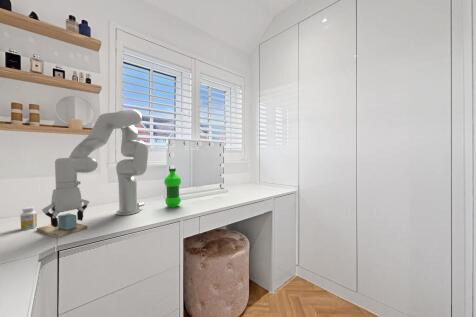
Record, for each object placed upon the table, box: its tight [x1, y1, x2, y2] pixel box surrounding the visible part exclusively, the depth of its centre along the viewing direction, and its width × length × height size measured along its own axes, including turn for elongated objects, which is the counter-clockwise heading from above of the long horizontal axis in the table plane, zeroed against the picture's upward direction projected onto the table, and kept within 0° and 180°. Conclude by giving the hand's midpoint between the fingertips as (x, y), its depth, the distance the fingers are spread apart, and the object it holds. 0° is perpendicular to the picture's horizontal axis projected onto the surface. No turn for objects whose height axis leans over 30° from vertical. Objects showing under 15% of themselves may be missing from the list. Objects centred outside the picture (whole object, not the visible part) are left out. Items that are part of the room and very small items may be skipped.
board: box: [36, 222, 88, 238], centre depth 97 cm, size 12×18×1 cm, turn 62°
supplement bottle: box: [20, 206, 38, 231], centre depth 100 cm, size 5×5×10 cm
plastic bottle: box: [163, 167, 182, 208], centre depth 137 cm, size 10×10×25 cm
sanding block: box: [57, 213, 78, 231], centre depth 95 cm, size 7×4×6 cm, turn 62°
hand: (68, 223), depth 94 cm, fingers open, 9 cm apart
